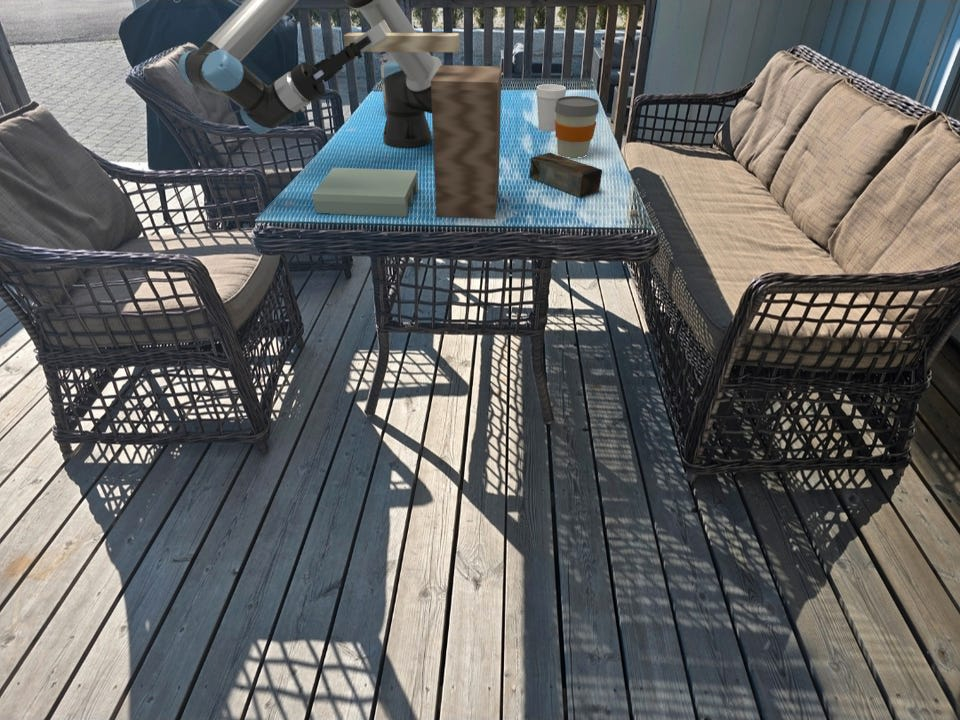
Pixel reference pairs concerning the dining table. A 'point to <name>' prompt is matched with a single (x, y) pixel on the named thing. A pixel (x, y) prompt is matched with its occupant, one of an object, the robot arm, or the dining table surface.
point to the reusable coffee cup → (575, 124)
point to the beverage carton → (565, 174)
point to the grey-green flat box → (366, 192)
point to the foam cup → (548, 104)
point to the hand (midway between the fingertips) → (385, 27)
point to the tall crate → (466, 140)
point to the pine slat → (411, 42)
